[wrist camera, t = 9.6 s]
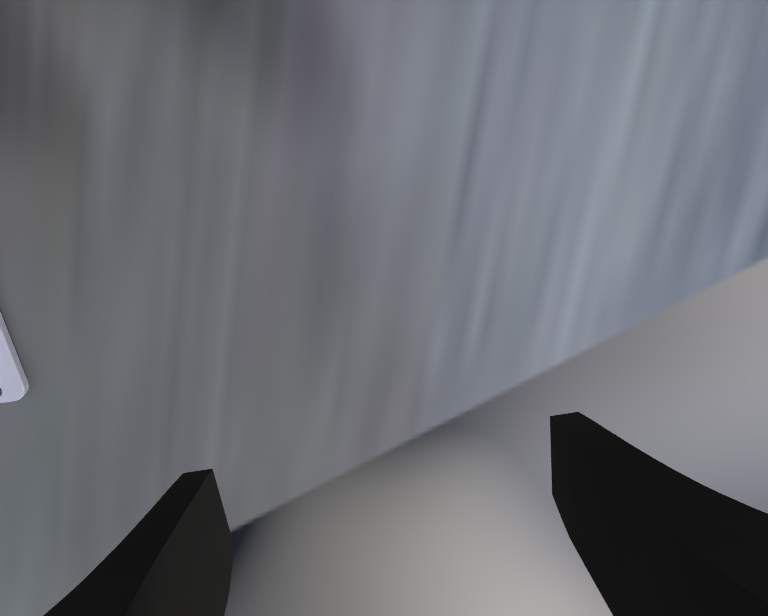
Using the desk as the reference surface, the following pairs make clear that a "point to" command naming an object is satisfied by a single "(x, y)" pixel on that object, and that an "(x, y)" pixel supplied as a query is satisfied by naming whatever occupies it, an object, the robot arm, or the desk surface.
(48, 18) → the desk surface
